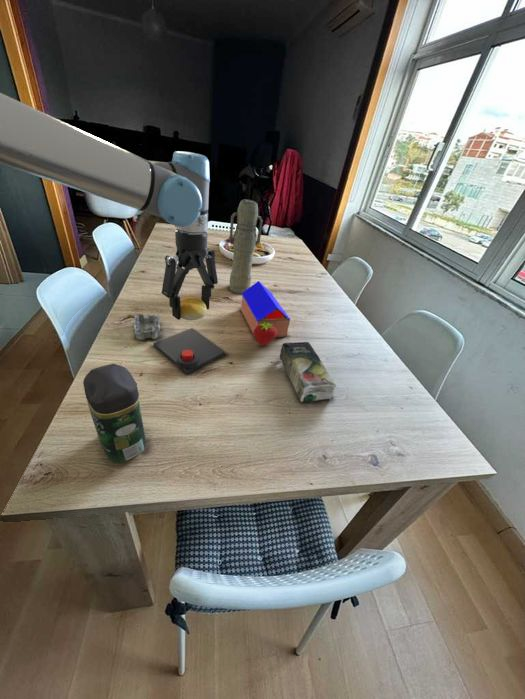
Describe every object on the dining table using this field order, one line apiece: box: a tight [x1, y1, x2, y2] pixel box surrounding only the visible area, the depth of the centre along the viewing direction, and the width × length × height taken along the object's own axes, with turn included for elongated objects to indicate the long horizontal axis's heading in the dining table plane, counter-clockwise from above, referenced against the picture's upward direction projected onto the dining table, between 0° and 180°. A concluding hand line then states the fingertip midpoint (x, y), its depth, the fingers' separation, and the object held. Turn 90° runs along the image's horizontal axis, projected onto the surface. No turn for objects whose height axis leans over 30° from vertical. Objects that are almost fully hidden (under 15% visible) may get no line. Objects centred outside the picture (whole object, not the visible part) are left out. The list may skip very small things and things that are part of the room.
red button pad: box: [153, 327, 226, 375], centre depth 87 cm, size 16×14×3 cm
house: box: [240, 280, 291, 338], centre depth 104 cm, size 12×20×12 cm, turn 18°
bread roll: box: [180, 296, 208, 321], centre depth 82 cm, size 8×9×4 cm
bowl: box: [218, 234, 276, 265], centre depth 159 cm, size 30×30×8 cm
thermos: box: [229, 198, 264, 295], centre depth 116 cm, size 9×12×35 cm
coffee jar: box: [82, 363, 147, 464], centre depth 55 cm, size 10×8×19 cm
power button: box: [182, 350, 193, 361], centre depth 80 cm, size 3×3×2 cm
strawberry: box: [253, 321, 277, 347], centre depth 92 cm, size 6×8×10 cm
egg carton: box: [133, 312, 161, 341], centre depth 91 cm, size 11×8×4 cm
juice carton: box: [279, 341, 337, 403], centre depth 84 cm, size 20×10×6 cm, turn 16°
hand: (191, 312), depth 83 cm, fingers closed on bread roll, 9 cm apart
